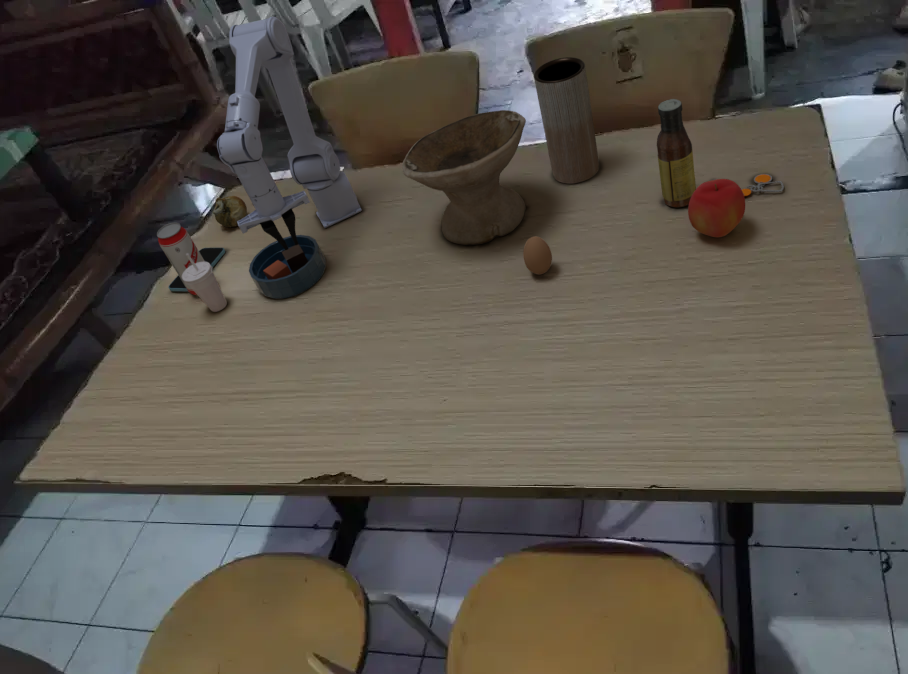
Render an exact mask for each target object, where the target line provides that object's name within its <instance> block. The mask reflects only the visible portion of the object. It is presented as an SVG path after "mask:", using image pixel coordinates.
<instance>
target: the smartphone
mask: <svg viewBox="0 0 908 674" xmlns="http://www.w3.org/2000/svg"><path fill="white" fill-rule="evenodd" d="M198 251H199V252H200V254H201V256H202V258H203V259H204V261H205V262H208V263H210V265H211V266H212V268H213V269H214V267H215V265H216V264H217V263H218V262H219V261H220V259H221V258H222V257H223V256H224V255H225V254H226V249H225V248H224V247H203V248H201V249H198ZM167 288H168V289H169V291H170V292H189V291H188V290H187V288H186V287H185V285H184V283H183V282H182V280H181V278H180V277H179V275H178V274H177V275H176V277H175V278H174V279H173V280H172V281H171V282H170V283H169V285H168V287H167Z"/></svg>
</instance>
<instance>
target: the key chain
mask: <svg viewBox="0 0 908 674" xmlns="http://www.w3.org/2000/svg"><path fill="white" fill-rule="evenodd" d="M716 179H717V178H713V179H712V180H716ZM772 180H773V176H772V175H771V174H769V173H760V174H757V175H755V176H754V177H753V182H754V183H755V184H756V185H754V184H749V185H747V186H746V187H745V188H741V190H742V192H743V195H744V197H748V196H750V195H751V194H752V193H755V192H756V193H757V192H764V193H765V192H766V193H781V192H783V191H784V189H785V186H784V183H783V181H781V180H776V181H772ZM775 183H776V184H780V186H781V187H780V189H764V186H766V185H769V184H775Z"/></svg>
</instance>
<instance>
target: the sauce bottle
mask: <svg viewBox="0 0 908 674" xmlns="http://www.w3.org/2000/svg"><path fill="white" fill-rule="evenodd" d="M657 111H658V115H659V118H660V119H659V120H660V131H659V133H658V135H657V138H656V149H657V163H658V172H659V179H660V186H661V196H662V198H663V201H664V204H665V205H666V206H668V207H672V208H682V207H687V206H689V202H690V199H691V196H692V194H693V193H694V191H695V190H696V188H697V187H696V186H697V184H696V173H695V163H694V154H693V143H692V141H691V139H690V137H689V135H688V132H687V130H686V128H685V125H684V121H683V113H682V112H683V103H682V101H680V100H679V99H676V98H670V99H667V100H664V101H662V102H660V103H659V104H658V106H657Z"/></svg>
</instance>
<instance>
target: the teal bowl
mask: <svg viewBox="0 0 908 674" xmlns="http://www.w3.org/2000/svg"><path fill="white" fill-rule="evenodd" d="M296 237H297V241H298V243H299V246H300V247H301V249H302V251H303V252H304V254H305V256H306V258H307V260H308V262H307V263H306V264H305V265H304V266H303V267H302V268H300V269H299V270H297V271H296V272H294V273H293V272H292V270H291V269H290V267H289V265H288V263H287V261H286V259H285V257H284V256H283V254H282V252H283V251H285V249H284V247H283V246H282V245H281V244H280V243H279V242H278V241H277V240H275V241H273V242H271V243H269V244H268V245H266V246H265V247H263V248H262V249H260V250H259V251H258V253H257V254H256V255H255V256H254V257H253V258H252V260H251V262H250V263H249V268H248V273H249V276H250V278H251V279H252V281H253V283H254V284H255V286H256V287H257V289H258V292H259V293H260V294H262V295H263V296H265V297H267V298H271V299H277V300H281V299H288V298H292V297H294V296H298V295H300V294H302V293H304V292H306V291H308V290H309V289H311V288H312V287H313V286H314V285H316V284H317V283H318V282H319V280H320V279H322V277H323V275H324V273H325V270H326V267H327V266H326V265H327V259H326V257H325V256H324V254H323V251H322V250H321V247H320V246H319V244H318V242H317V240H316V239H315V238H314V237H312V236H310V235H305V234H296ZM283 239H284V240H285V242H286V244H287V246H288V248H291V247H293V246H295V243H294V241H293V239H292V237H291V235H288V236H285V237H283ZM277 260H279V261H281V262H282V263H284V264H286V265H287V266H288V267H289V269H290V271H291V273H292V274H290V275H288V276H285V277H282V278H278V279H272V280H268V278H267V277H266V275H265V273H264V271H263V270H264V269H266V268H267V267H269V266H270V265H271V264H273V263H274V262H276V261H277Z"/></svg>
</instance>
